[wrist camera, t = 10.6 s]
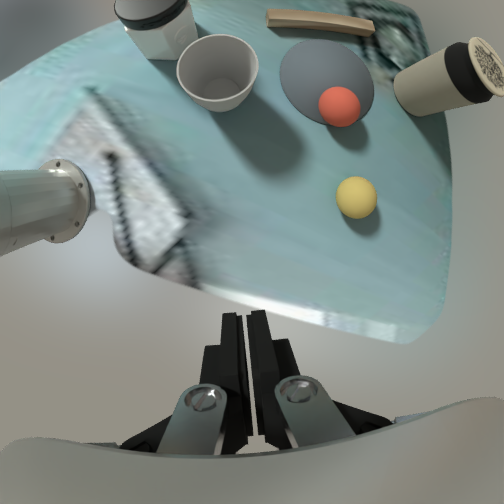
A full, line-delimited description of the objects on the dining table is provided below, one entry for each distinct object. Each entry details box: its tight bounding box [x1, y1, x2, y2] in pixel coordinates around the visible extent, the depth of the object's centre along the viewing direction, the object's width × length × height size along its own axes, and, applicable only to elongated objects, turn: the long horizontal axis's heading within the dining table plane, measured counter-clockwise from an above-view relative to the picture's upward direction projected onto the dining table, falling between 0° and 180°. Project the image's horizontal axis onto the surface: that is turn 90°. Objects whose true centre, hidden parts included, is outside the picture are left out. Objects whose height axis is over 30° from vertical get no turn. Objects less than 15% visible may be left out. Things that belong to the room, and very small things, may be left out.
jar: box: [114, 0, 199, 60], centre depth 24 cm, size 9×8×12 cm
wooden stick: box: [266, 9, 375, 37], centre depth 29 cm, size 2×16×2 cm, turn 95°
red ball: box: [318, 87, 360, 127], centre depth 31 cm, size 6×6×6 cm
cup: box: [177, 34, 258, 112], centre depth 28 cm, size 8×8×10 cm
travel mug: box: [394, 37, 504, 117], centre depth 25 cm, size 8×8×18 cm
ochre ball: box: [336, 177, 377, 219], centre depth 34 cm, size 6×6×6 cm
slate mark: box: [280, 39, 374, 125], centre depth 33 cm, size 14×14×1 cm
